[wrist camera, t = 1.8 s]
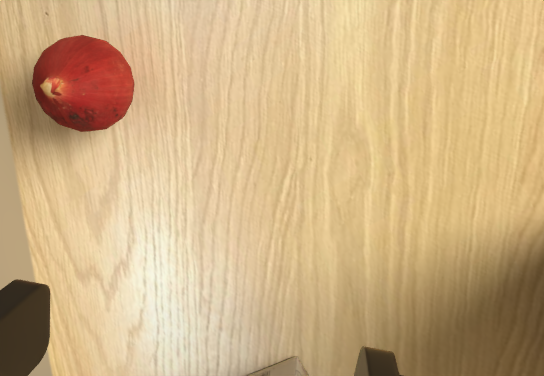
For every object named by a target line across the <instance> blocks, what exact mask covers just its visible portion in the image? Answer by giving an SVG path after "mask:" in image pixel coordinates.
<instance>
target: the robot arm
mask: <svg viewBox="0 0 544 376" xmlns="http://www.w3.org/2000/svg"><path fill="white" fill-rule="evenodd" d="M49 338H50V289H49V287H48V286H47V285H45V284H39V283H34V282H29V281H23V280H14V281H12V282H11V283H10V284H8V285H7V286H5V287H4V288H3V289H2V290H0V376H28V375H29V374H30V372H31V371H32V370H33V369H34V368H35V367H36V366H37V365H38V364H39V362H40V361H41V360H42V358H43V356H44V354H45V352H46V350H47V347H48V344H49ZM354 376H402V375H399V372H398V368H397V363H396V359H395V355H394V353H393V352H390V351H385V350H380V349H375V348H369V347H364V346H363V347H362V348H361V350H360V353H359V357H358V361H357V365H356V369H355V373H354Z"/></svg>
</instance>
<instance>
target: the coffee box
mask: <svg viewBox="0 0 544 376" xmlns="http://www.w3.org/2000/svg"><path fill="white" fill-rule="evenodd" d="M248 376H308V374H307V372H306V371H305V369H304V367H303V365H302V363H301V362H300V360H299V358H298V357H293V358H290V359H288V360H285V361H283V362H280V363H278V364H275V365H273V366H270V367H268V368H265V369H263V370H260V371H258V372H255V373H253V374H250V375H248Z"/></svg>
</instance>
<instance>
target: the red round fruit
mask: <svg viewBox="0 0 544 376" xmlns="http://www.w3.org/2000/svg"><path fill="white" fill-rule="evenodd" d="M32 85H33V89H34V93H35V97H36V100H37V101H38V103H39V104H40V106H41V108H42V109H43V111H44V112H45V113H46V114H47V115H48V116H50V117H51V118H52V119H53V120H54V121H56V122H57V123H58V124H59V125H62V126H65V127H69V128H72V129H75V130H78V131H81V132H84V131H95V130H103V129H107V128H109V127H110V126H112V125H113V124H115V123H116V122H117V121H119V120H120V119H122V118H123V117H124V116H125V114H126V112H127V110H128V108H129V106H130V104H131V102H132V99H133V92H134V80H133V76H132V72H131V68H130V66H129V64H128V63H127V61H126V60H125V58H124V57H123V55H122V54H121V52H119V51H118V50H117V49H116V48H114V47H113V46H112V45H110V44H109V43H108V42H106V41H104V40H100V39H96V38H92V37H88V36H84V35H80V36H74V37H68V38H64V39H61V40H59V41H57V42H56V43H54V44H53V45H51V46H50V47H48V48H47V49H45V50H44V51H43V52H42V54H41V56H40V58H39V59H38V61H37V63H36V65H35V67H34V72H33V80H32Z"/></svg>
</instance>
